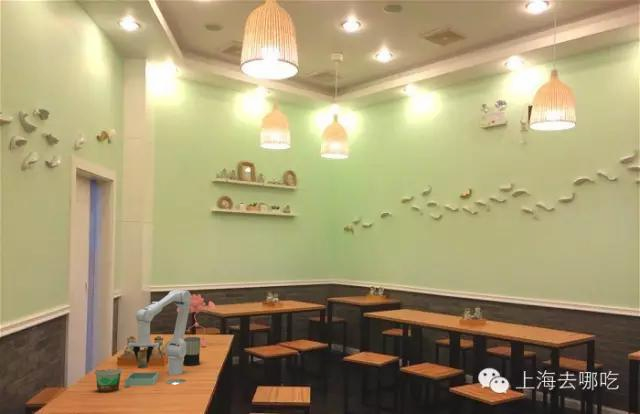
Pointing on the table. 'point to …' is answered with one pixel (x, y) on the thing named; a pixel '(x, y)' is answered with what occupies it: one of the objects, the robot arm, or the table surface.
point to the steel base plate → (175, 381)
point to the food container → (108, 380)
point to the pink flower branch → (197, 306)
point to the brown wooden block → (142, 359)
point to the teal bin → (141, 379)
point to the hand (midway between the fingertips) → (143, 362)
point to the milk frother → (192, 351)
